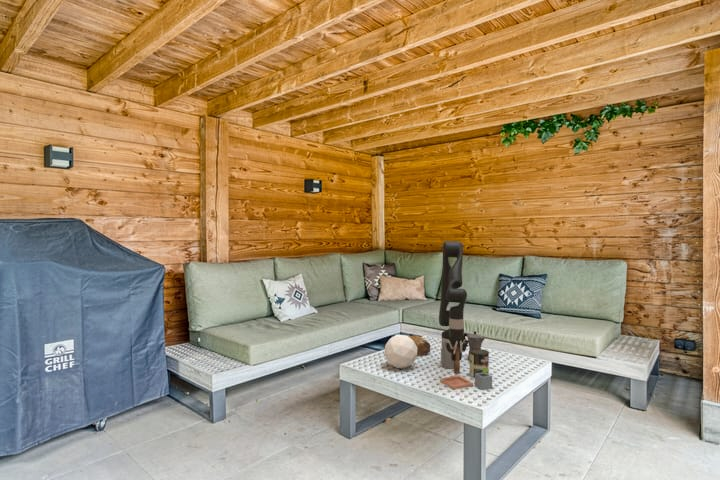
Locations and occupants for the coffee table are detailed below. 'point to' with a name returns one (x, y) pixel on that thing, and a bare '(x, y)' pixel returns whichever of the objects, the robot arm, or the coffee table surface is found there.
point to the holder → (483, 381)
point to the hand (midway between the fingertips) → (456, 360)
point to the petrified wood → (421, 345)
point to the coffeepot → (474, 341)
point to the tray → (456, 382)
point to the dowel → (457, 361)
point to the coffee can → (479, 361)
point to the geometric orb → (401, 351)
